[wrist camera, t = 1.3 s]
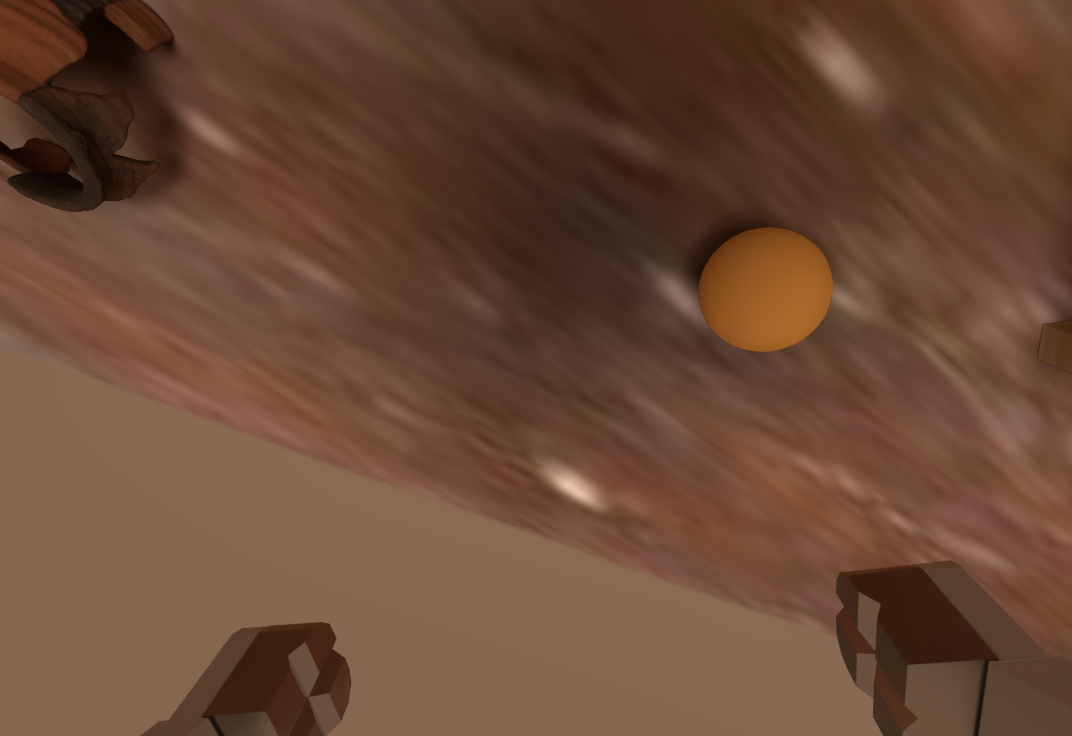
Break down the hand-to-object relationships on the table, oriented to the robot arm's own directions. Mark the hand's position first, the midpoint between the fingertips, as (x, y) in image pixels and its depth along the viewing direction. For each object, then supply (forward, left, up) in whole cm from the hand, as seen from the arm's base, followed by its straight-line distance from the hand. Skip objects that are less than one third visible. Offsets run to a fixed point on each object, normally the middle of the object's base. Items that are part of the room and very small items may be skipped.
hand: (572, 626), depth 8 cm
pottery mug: (-15, -22, -23) cm, 35 cm away
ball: (+1, +9, -20) cm, 22 cm away
